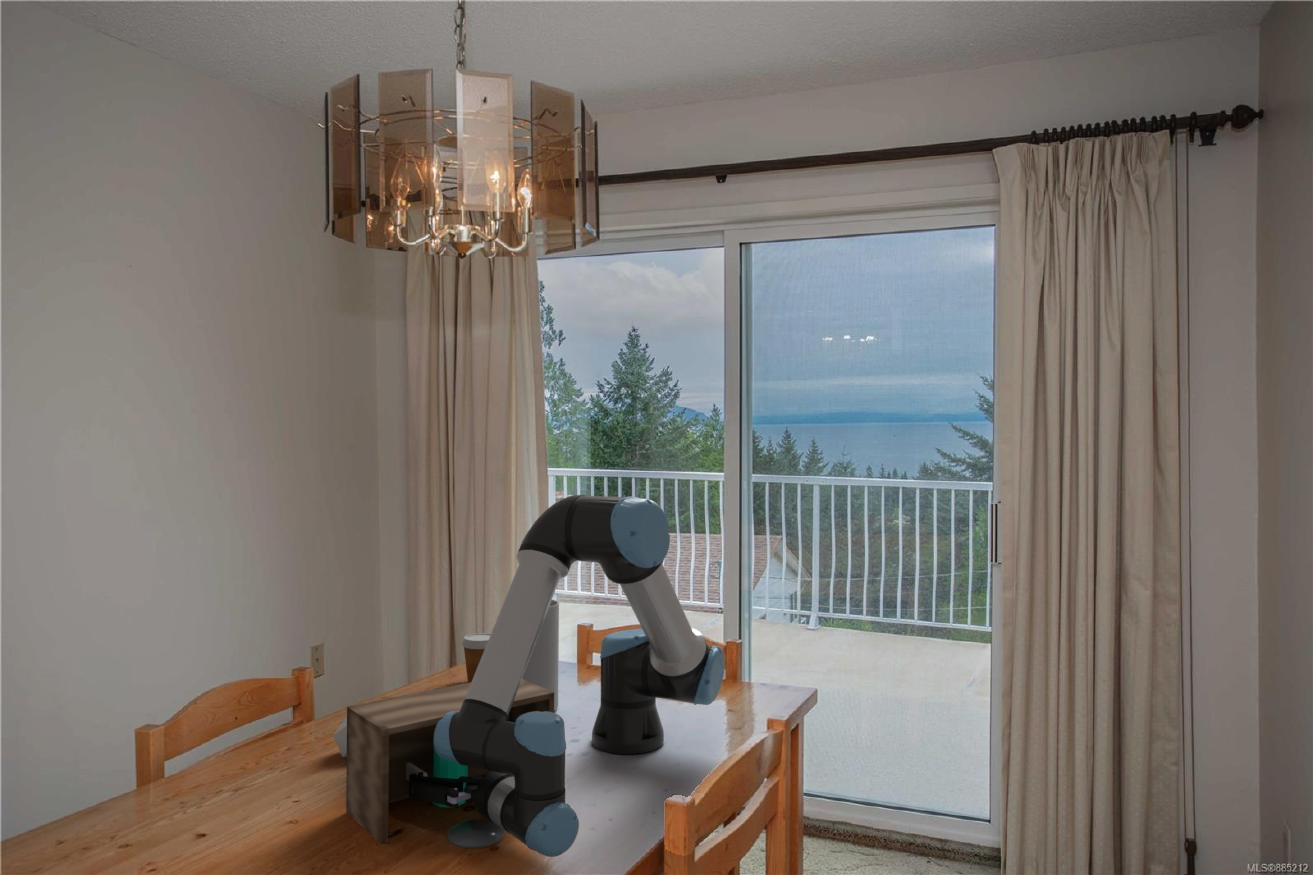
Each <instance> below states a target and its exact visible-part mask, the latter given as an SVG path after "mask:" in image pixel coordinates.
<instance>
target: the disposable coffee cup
mask: <svg viewBox="0 0 1313 875" xmlns="http://www.w3.org/2000/svg"><path fill="white" fill-rule="evenodd" d="M490 635H491V633H490V632H489V633H488V632H487V633H486V632H481V633H480V632H479V633H478V632H477V633H471V634H467V635H465V636H464V637H463V639H462V642H461V645H462V647H463V650H464V660H465V662H464V663H465V670H466V676H467V683H470V682H472V680H473V677H474V675H475V672H476V670H477V667H478V665H479V663H480V660H481V658H482V655H483V653H484V650H485V648H486V645H487V643H488V640H489V638H490Z"/></svg>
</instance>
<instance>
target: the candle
mask: <svg viewBox="0 0 1313 875" xmlns="http://www.w3.org/2000/svg"><path fill="white" fill-rule="evenodd" d="M461 776H465V777H468V766H466V765H459V764H457V763H455V762H452V761H449V760H445V759H442V758H441V757H440V756H439V755H438V754H437V752H436V750H435V747H434V741H433V777H438V778H452V779H458V778H459V777H461ZM465 786H466V783H465V782H463V792H464V789H465ZM466 802H467V801H465V800H464V801H461V802H459V806H461V805H464V804H465V803H466ZM433 805H434V806H437V807H439V808H449V807H448V806H446V805H442V804H438V803H433Z"/></svg>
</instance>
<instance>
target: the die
mask: <svg viewBox="0 0 1313 875" xmlns="http://www.w3.org/2000/svg"><path fill="white" fill-rule="evenodd" d="M332 737H333V738H334V741H335V744H336V745H337V747H338V750H339V752H340V755H341V756H342V758H347V715H346V717H344V719H343V720H342V722H341V724H340V725H339V726H338V727H337V729H336V731H335V732H334V733H333V735H332Z"/></svg>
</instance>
